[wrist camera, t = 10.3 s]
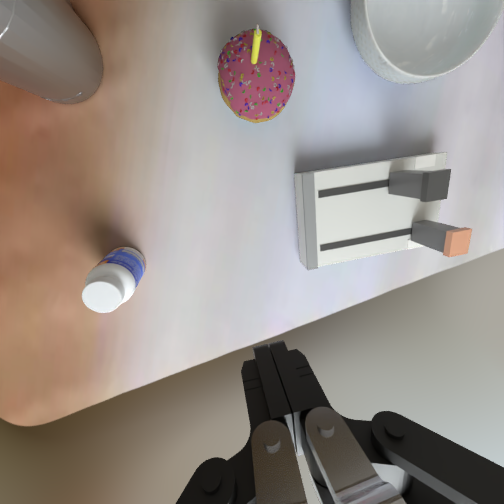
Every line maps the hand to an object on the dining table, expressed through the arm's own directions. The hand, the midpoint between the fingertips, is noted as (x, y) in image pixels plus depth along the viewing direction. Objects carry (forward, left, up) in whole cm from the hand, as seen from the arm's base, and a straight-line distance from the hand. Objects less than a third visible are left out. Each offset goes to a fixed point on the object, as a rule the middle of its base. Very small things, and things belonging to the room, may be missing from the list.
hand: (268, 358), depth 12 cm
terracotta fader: (+5, +29, -24) cm, 38 cm away
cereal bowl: (-23, +26, -27) cm, 44 cm away
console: (+1, +22, -27) cm, 35 cm away
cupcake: (-17, +6, -27) cm, 33 cm away
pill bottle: (+3, -15, -27) cm, 31 cm away
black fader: (-3, +25, -24) cm, 35 cm away
